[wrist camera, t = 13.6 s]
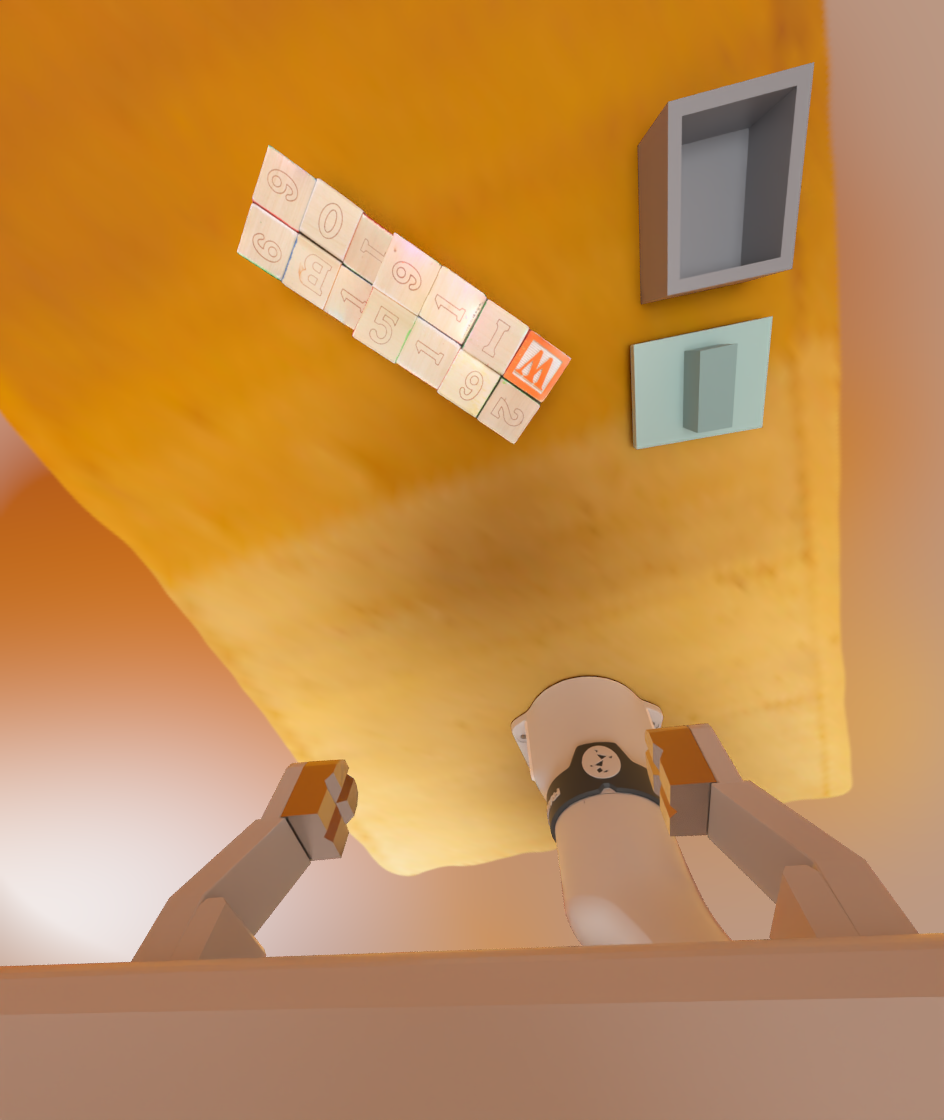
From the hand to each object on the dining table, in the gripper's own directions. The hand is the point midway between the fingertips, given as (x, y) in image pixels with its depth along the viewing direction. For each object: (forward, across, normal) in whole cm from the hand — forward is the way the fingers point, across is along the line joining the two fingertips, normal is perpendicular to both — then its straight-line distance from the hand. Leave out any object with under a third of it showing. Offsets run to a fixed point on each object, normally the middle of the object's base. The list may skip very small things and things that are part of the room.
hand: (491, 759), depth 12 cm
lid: (+33, -18, -4) cm, 38 cm away
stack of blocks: (+34, +4, -14) cm, 36 cm away
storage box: (+33, -18, -16) cm, 41 cm away
